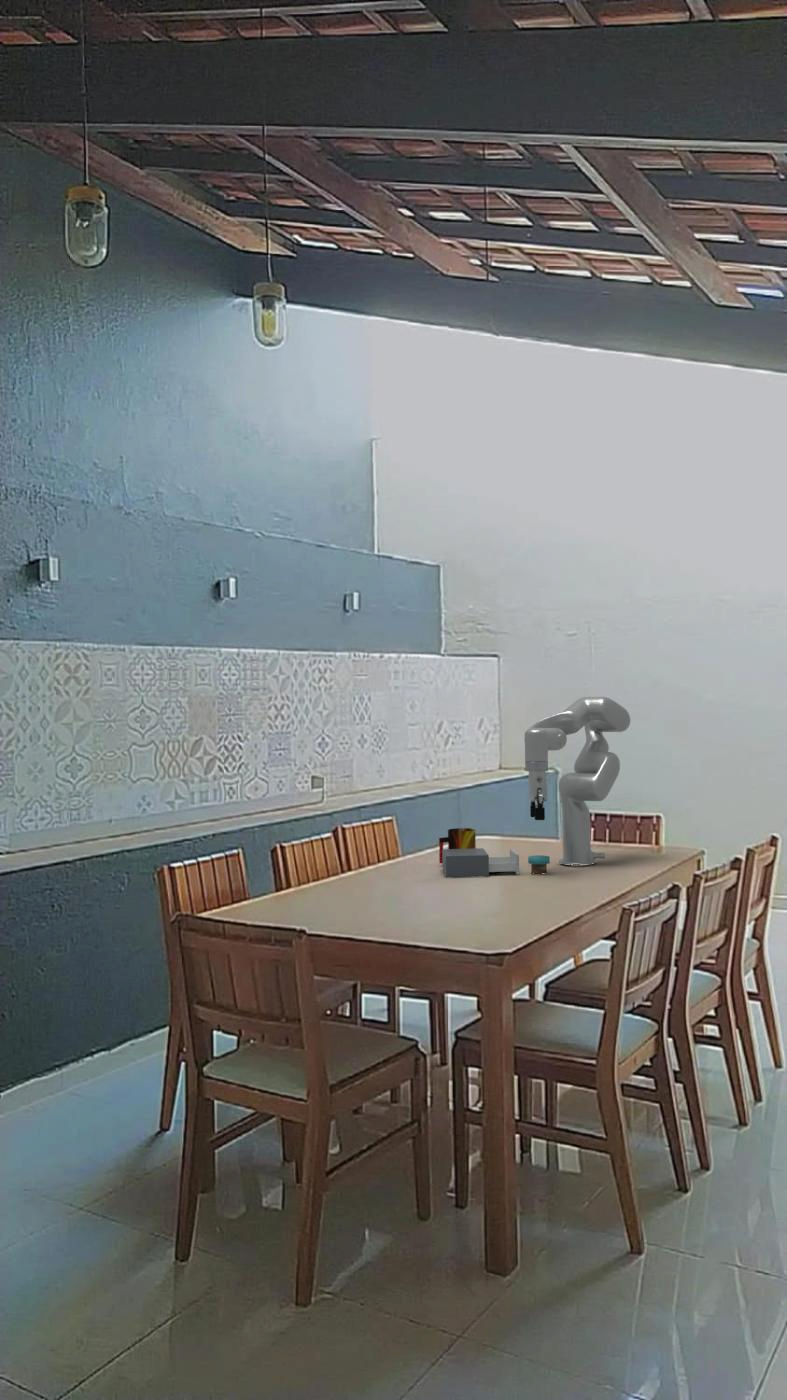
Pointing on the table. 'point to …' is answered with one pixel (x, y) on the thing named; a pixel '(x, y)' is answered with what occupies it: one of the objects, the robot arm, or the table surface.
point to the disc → (538, 859)
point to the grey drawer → (505, 863)
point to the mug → (458, 840)
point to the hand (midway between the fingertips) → (537, 818)
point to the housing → (465, 862)
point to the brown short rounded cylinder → (539, 868)
